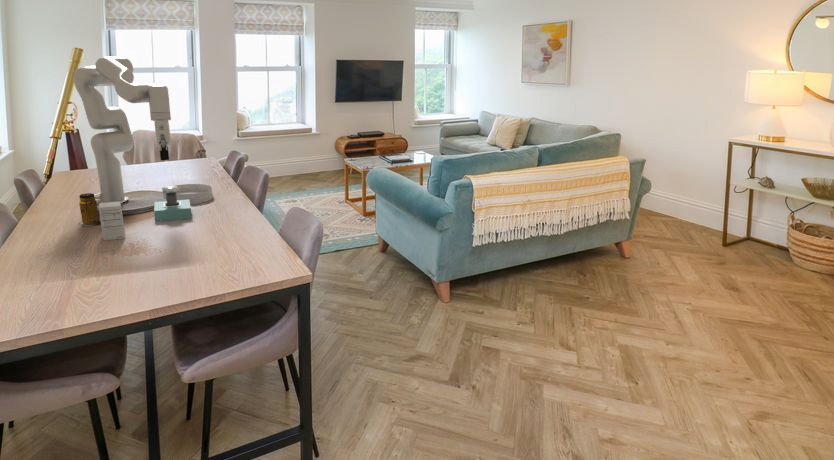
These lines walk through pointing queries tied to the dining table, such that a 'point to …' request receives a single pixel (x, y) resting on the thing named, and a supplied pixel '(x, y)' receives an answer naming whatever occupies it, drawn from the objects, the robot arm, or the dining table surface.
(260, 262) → the dining table surface
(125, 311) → the dining table surface
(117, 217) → the supplement box
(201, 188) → the dish
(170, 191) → the bolt
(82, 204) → the condiment
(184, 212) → the dock
